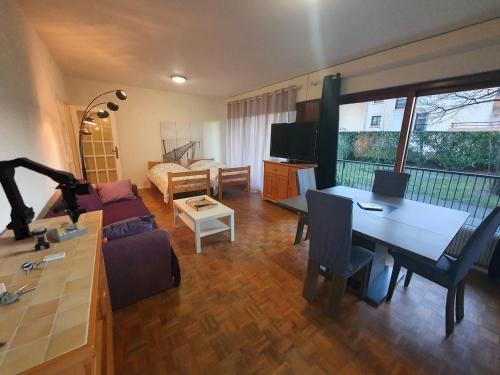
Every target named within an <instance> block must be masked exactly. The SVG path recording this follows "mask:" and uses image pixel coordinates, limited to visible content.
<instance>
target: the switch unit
mask: <svg viewBox="0 0 500 375" xmlns="http://www.w3.org/2000/svg"><path fill="white" fill-rule="evenodd" d="M69 225H70V228H68V229H65V233H64V234H60V235H57V234H56V230H55V229H56V228H53V229H49V230H47V233H48V236H49V237H50V238H52V239H53V240H56V241H58V242H59V243H63V242H64V241H69V240H71V239H74V238H77V237H81V236H83V235H86V234H88V229H87V227H86V226H84V227H83V228H80V229H76V228H75V225H74V224H73V223H69ZM60 227H61V226H59V227H58V228H60Z"/></svg>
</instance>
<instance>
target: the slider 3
mask: <svg viewBox="0 0 500 375" xmlns="http://www.w3.org/2000/svg"><path fill="white" fill-rule="evenodd" d="M83 227H85V225H84V222H83V221H78V222H77V223H75V228H76V229H80V228H83Z"/></svg>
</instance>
